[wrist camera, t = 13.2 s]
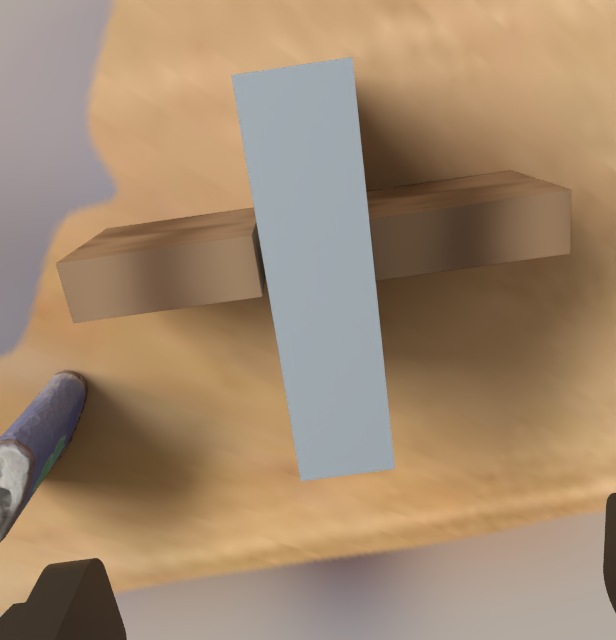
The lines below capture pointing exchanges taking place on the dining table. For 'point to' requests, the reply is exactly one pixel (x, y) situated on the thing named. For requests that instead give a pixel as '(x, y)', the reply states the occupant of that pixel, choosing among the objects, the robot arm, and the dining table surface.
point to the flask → (37, 443)
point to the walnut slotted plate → (386, 236)
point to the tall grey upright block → (318, 262)
